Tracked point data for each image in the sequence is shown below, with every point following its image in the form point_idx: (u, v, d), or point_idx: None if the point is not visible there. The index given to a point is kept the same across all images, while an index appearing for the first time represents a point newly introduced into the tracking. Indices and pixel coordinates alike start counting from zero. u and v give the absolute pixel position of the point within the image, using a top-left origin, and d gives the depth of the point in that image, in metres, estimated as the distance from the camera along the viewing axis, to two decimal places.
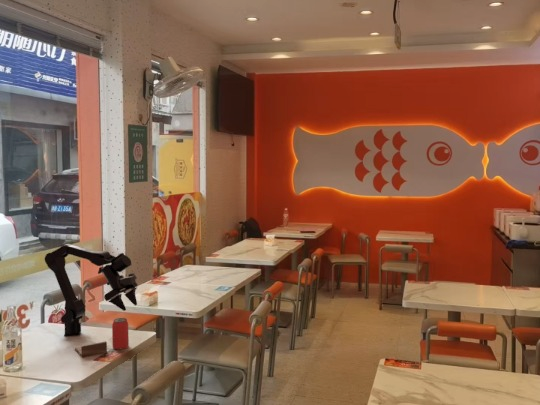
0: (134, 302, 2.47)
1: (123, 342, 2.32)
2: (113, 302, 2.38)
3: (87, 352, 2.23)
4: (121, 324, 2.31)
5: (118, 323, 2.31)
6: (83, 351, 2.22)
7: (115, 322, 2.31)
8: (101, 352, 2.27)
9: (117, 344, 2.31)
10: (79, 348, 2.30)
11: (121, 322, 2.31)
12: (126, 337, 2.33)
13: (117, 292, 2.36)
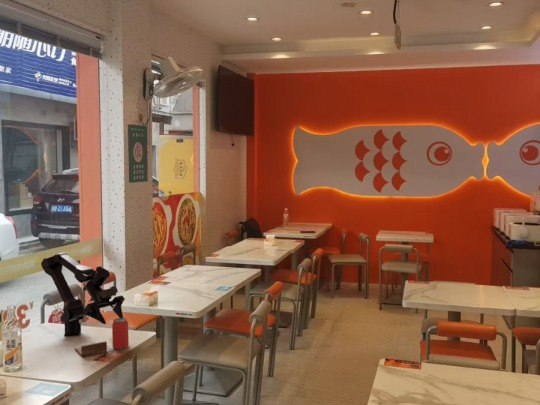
0: (120, 316, 2.40)
1: (123, 342, 2.32)
2: (93, 316, 2.33)
3: (87, 352, 2.23)
4: (121, 324, 2.31)
5: (118, 323, 2.31)
6: (83, 351, 2.22)
7: (115, 322, 2.31)
8: (101, 352, 2.27)
9: (117, 344, 2.31)
10: (79, 348, 2.30)
11: (121, 322, 2.31)
12: (126, 337, 2.33)
13: (93, 305, 2.31)
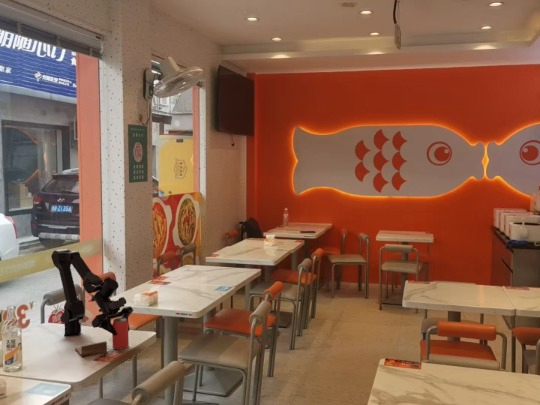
0: None
1: (123, 342, 2.32)
2: (104, 327, 2.32)
3: (87, 352, 2.23)
4: (121, 324, 2.31)
5: (118, 323, 2.31)
6: (83, 351, 2.22)
7: (115, 322, 2.31)
8: (101, 352, 2.27)
9: (117, 344, 2.31)
10: (79, 348, 2.30)
11: (121, 322, 2.31)
12: (126, 337, 2.33)
13: (102, 317, 2.28)
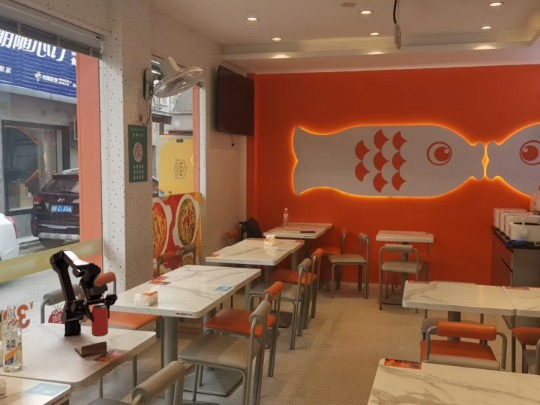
0: None
1: (100, 329, 2.28)
2: (83, 313, 2.30)
3: (87, 352, 2.23)
4: (98, 311, 2.27)
5: (96, 310, 2.27)
6: (83, 351, 2.22)
7: (93, 308, 2.28)
8: (101, 352, 2.27)
9: (94, 331, 2.28)
10: (79, 348, 2.30)
11: (99, 309, 2.27)
12: (104, 324, 2.29)
13: (79, 302, 2.26)
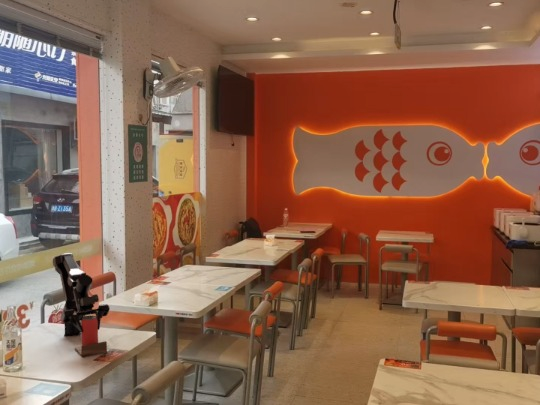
0: None
1: (89, 340, 2.27)
2: (74, 323, 2.30)
3: (87, 352, 2.23)
4: (87, 322, 2.27)
5: (84, 320, 2.27)
6: (83, 351, 2.22)
7: (82, 319, 2.28)
8: (101, 352, 2.27)
9: (83, 342, 2.28)
10: (79, 348, 2.30)
11: (87, 320, 2.27)
12: (93, 336, 2.28)
13: (69, 313, 2.27)
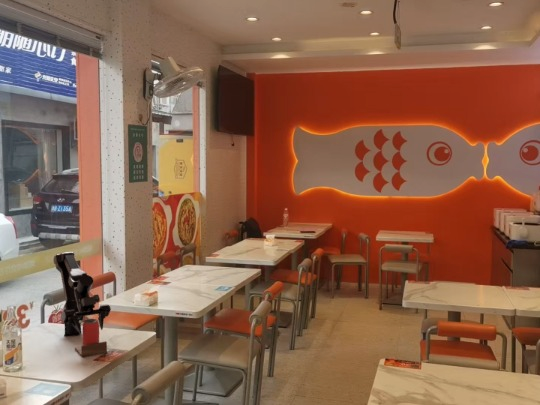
0: (100, 326, 2.31)
1: None
2: (72, 324, 2.28)
3: (87, 352, 2.23)
4: (88, 325, 2.25)
5: (86, 324, 2.26)
6: (83, 351, 2.22)
7: (84, 323, 2.27)
8: (101, 352, 2.27)
9: None
10: (79, 348, 2.30)
11: (89, 323, 2.26)
12: (94, 339, 2.27)
13: (70, 313, 2.25)
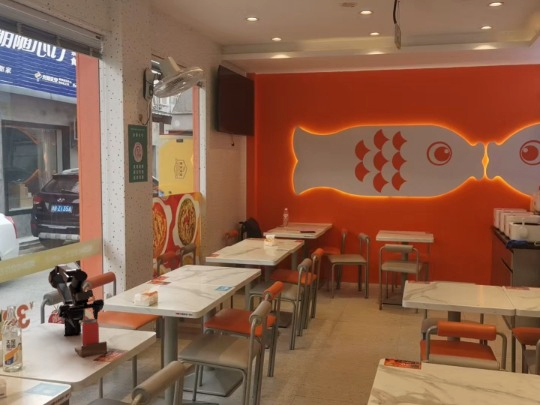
0: None
1: None
2: (66, 318, 2.36)
3: (87, 352, 2.23)
4: (88, 325, 2.26)
5: (85, 324, 2.26)
6: (83, 351, 2.22)
7: (83, 323, 2.27)
8: (101, 352, 2.27)
9: None
10: (79, 348, 2.30)
11: (88, 323, 2.26)
12: (94, 339, 2.27)
13: (64, 308, 2.33)
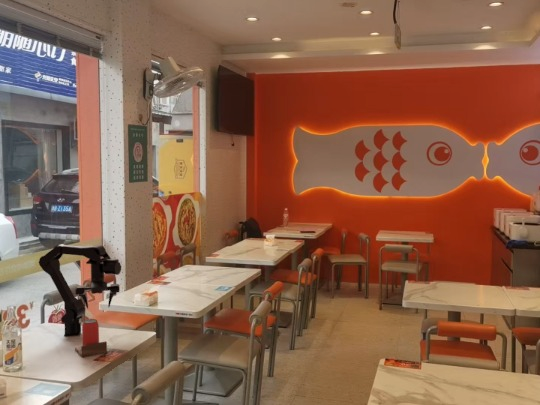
0: (108, 304, 2.50)
1: None
2: None
3: (87, 352, 2.23)
4: (88, 325, 2.26)
5: (85, 324, 2.26)
6: (83, 351, 2.22)
7: (83, 323, 2.27)
8: (101, 352, 2.27)
9: None
10: (79, 348, 2.30)
11: (88, 323, 2.26)
12: (94, 339, 2.27)
13: (79, 292, 2.43)
